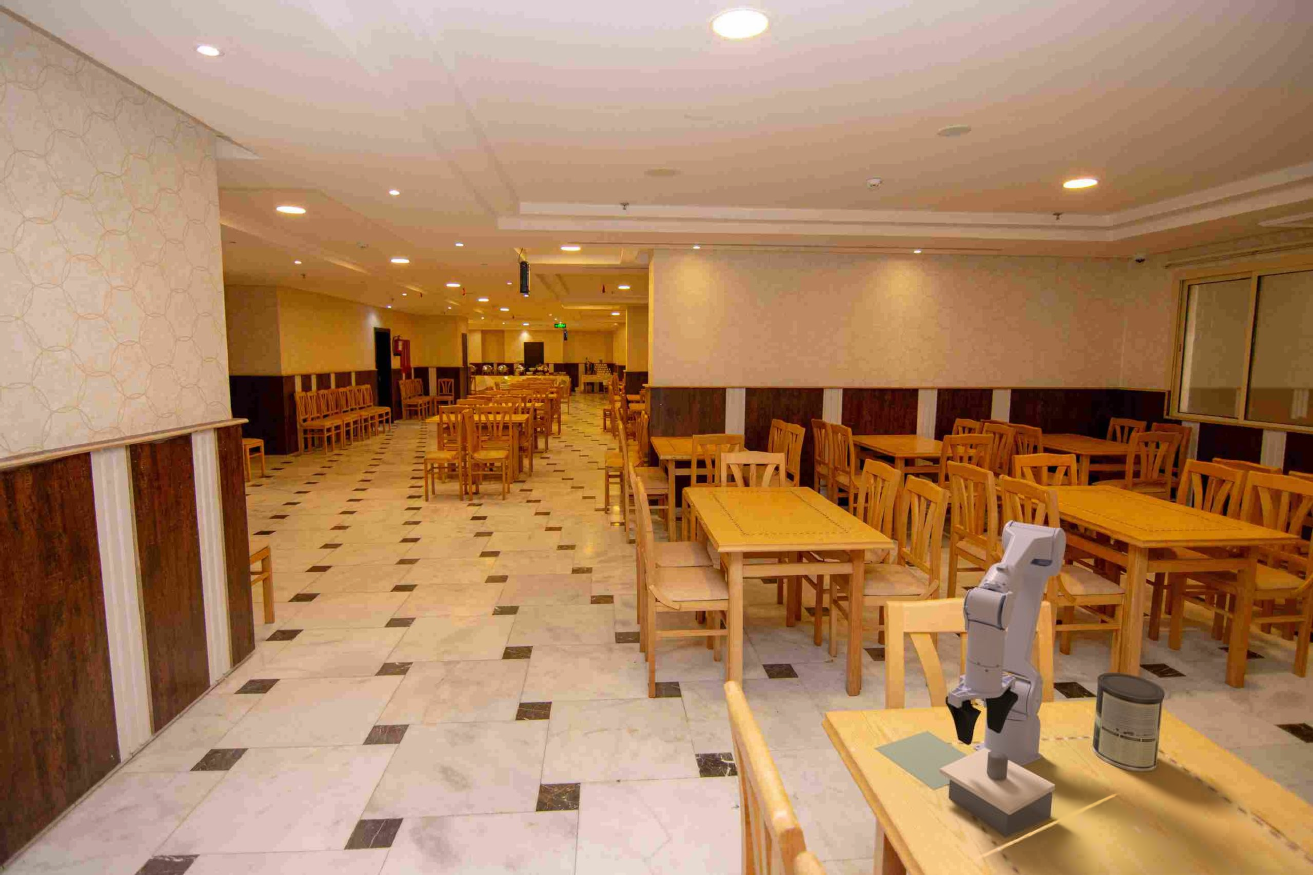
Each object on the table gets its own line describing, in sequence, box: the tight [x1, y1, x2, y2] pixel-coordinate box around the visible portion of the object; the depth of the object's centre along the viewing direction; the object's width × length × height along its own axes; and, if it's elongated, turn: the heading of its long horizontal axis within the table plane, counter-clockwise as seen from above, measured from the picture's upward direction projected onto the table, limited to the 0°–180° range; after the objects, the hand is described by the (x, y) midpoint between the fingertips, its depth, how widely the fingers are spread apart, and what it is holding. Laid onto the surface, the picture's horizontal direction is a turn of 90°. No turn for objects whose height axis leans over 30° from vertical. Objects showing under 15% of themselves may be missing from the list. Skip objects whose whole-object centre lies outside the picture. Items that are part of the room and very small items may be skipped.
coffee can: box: [1091, 672, 1166, 773], centre depth 129 cm, size 10×10×14 cm
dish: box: [948, 780, 1053, 838], centre depth 114 cm, size 11×11×5 cm
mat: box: [874, 730, 969, 791], centre depth 128 cm, size 14×14×1 cm
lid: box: [940, 748, 1056, 815], centre depth 114 cm, size 12×12×4 cm
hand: (979, 736), depth 117 cm, fingers open, 7 cm apart
